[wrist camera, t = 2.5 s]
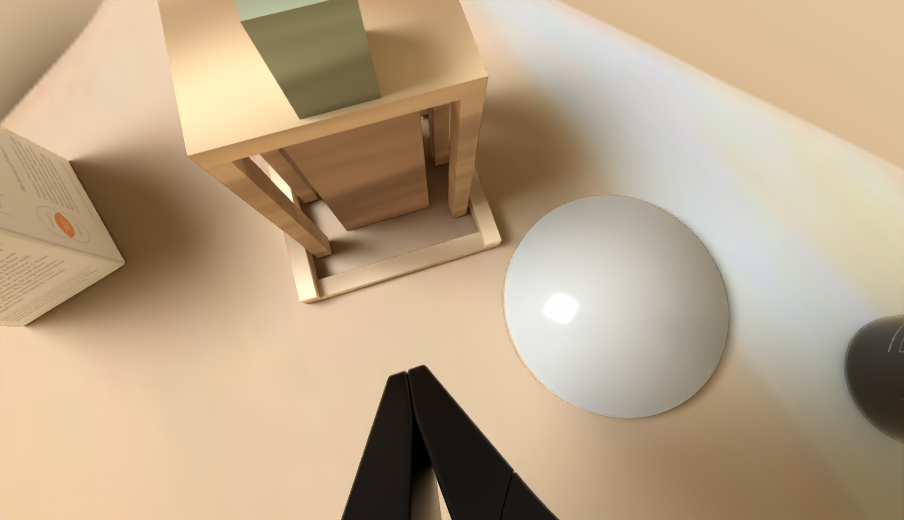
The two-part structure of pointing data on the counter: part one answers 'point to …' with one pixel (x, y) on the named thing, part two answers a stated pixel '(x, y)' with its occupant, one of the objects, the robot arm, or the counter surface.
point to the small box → (45, 233)
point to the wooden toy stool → (318, 88)
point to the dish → (616, 307)
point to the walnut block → (367, 170)
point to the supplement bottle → (879, 373)
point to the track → (392, 267)
